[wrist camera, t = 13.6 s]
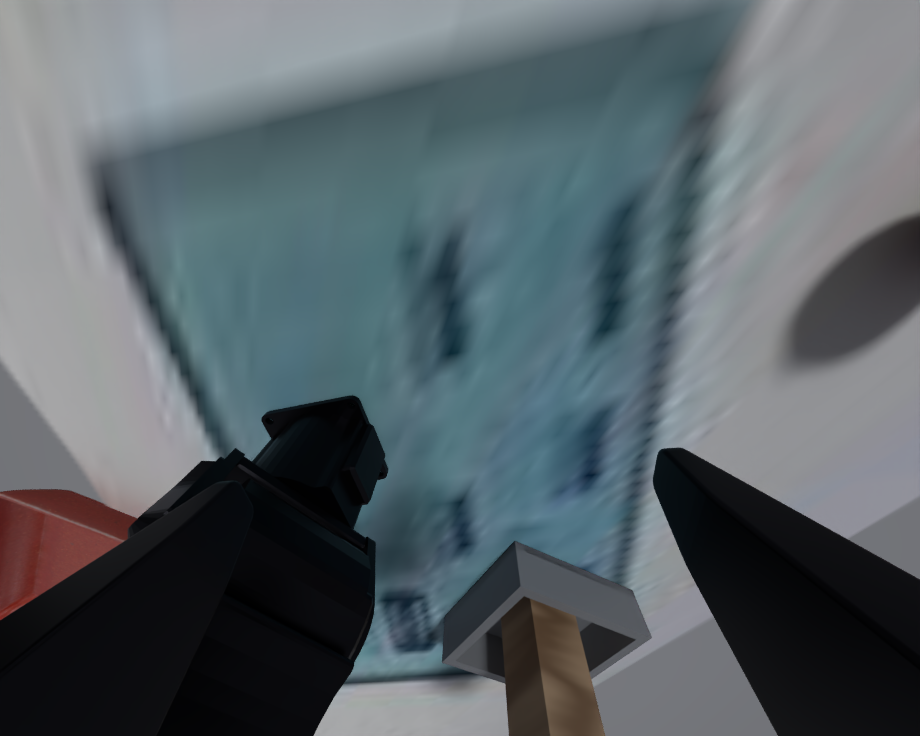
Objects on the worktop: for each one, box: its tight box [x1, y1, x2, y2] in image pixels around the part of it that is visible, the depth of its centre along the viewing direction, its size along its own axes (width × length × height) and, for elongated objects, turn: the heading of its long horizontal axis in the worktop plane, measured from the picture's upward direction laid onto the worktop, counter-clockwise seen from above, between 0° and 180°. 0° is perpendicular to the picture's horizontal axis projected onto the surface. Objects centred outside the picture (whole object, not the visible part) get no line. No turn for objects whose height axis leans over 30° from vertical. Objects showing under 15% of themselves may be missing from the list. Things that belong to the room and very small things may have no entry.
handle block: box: [501, 596, 605, 736], centre depth 24 cm, size 4×4×12 cm
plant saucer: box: [0, 489, 137, 620], centre depth 29 cm, size 18×18×3 cm
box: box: [442, 541, 652, 683], centre depth 29 cm, size 12×12×4 cm
